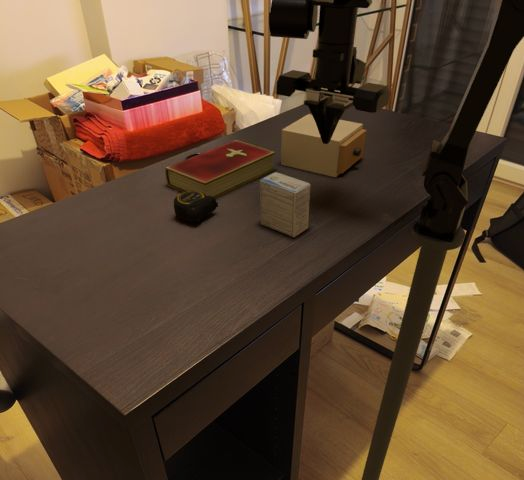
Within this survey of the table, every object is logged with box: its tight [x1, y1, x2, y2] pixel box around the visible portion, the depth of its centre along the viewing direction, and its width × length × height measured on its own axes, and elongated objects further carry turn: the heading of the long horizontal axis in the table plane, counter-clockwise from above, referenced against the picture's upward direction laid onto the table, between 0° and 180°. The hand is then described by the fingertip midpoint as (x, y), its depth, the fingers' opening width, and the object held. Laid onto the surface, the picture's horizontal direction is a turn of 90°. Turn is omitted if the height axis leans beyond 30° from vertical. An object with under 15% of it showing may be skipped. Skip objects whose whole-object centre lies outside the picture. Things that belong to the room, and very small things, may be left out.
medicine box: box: [259, 171, 311, 238], centre depth 84 cm, size 8×4×9 cm, turn 49°
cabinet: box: [280, 113, 364, 178], centre depth 107 cm, size 14×13×8 cm
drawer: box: [337, 129, 367, 174], centre depth 106 cm, size 14×11×6 cm
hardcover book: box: [164, 139, 276, 199], centre depth 102 cm, size 12×21×4 cm, turn 139°
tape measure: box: [173, 191, 219, 223], centre depth 89 cm, size 7×7×4 cm
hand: (326, 143), depth 85 cm, fingers closed
